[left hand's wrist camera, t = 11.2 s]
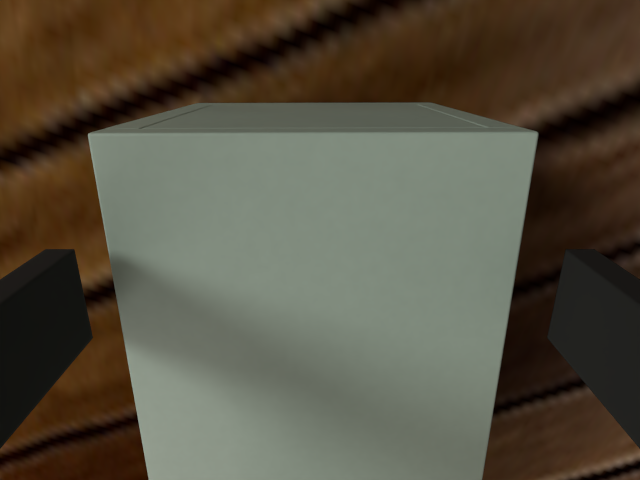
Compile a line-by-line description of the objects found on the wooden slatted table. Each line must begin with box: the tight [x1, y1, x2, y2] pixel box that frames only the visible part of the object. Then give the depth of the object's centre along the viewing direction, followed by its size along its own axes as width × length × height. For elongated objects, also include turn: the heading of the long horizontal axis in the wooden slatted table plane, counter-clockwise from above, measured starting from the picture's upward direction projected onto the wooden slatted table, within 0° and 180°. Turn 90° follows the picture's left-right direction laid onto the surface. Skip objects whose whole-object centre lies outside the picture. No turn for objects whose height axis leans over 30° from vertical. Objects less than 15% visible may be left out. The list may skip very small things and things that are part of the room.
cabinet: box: [88, 103, 538, 480], centre depth 21 cm, size 22×12×12 cm, turn 0°
